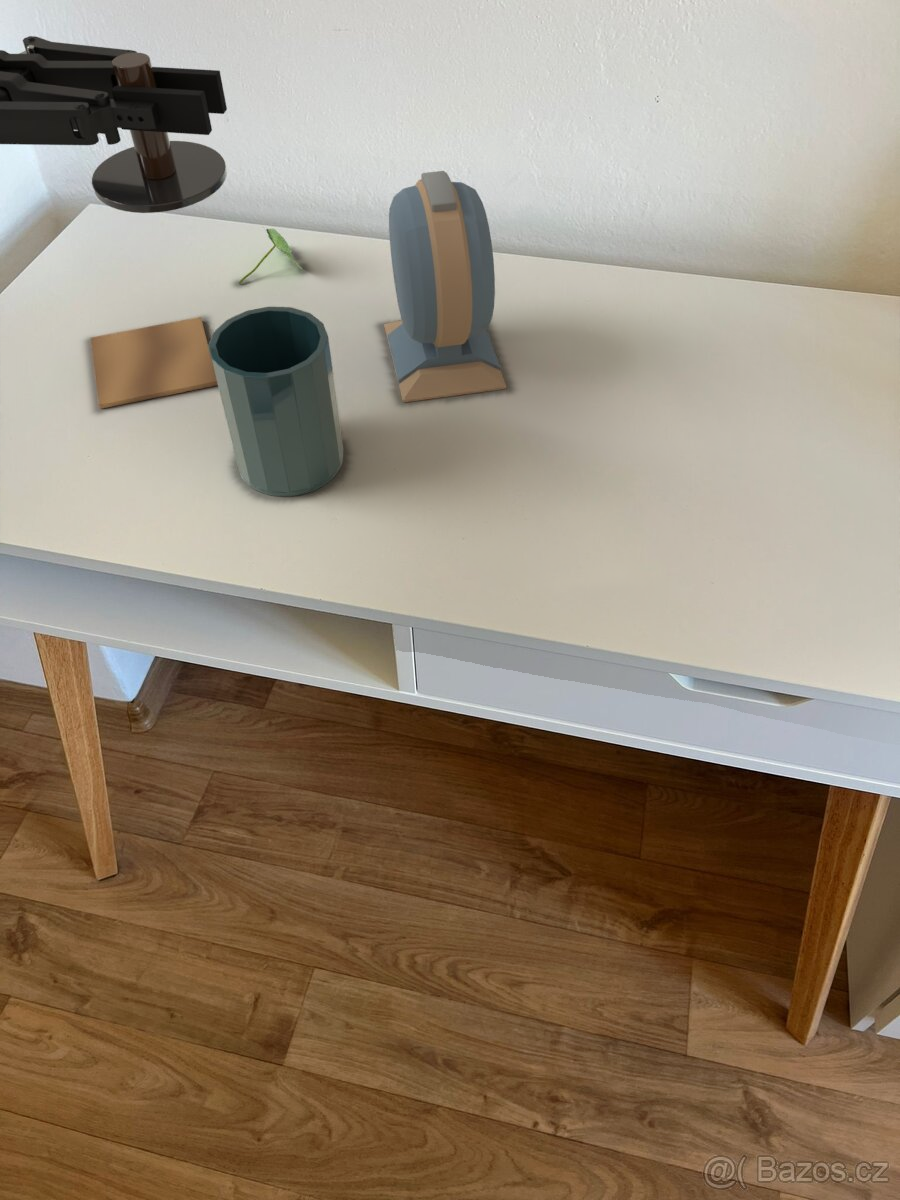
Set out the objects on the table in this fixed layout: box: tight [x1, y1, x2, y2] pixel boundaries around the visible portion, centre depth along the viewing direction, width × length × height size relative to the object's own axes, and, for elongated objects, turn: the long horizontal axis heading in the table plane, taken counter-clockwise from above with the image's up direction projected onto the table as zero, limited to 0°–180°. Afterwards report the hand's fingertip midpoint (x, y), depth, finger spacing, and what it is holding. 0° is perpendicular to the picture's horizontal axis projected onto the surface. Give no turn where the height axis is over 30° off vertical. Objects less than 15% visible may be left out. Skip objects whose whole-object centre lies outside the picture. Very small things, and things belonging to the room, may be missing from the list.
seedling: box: [238, 215, 303, 285], centre depth 106 cm, size 7×8×7 cm
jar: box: [208, 306, 344, 497], centre depth 83 cm, size 9×9×12 cm
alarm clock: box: [383, 170, 507, 403], centre depth 91 cm, size 14×10×18 cm
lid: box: [91, 52, 228, 214], centre depth 73 cm, size 10×10×9 cm
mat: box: [90, 316, 218, 410], centre depth 97 cm, size 11×11×1 cm
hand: (213, 102), depth 71 cm, fingers closed on lid, 3 cm apart
